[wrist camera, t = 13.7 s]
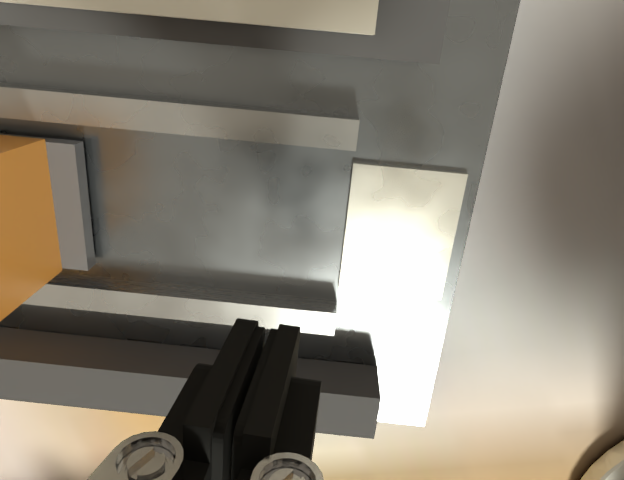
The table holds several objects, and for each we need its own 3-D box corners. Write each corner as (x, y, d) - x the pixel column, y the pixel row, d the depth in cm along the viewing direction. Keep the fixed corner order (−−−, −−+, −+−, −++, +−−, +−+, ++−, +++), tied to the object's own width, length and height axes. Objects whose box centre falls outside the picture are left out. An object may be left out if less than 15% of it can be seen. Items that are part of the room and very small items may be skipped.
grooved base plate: (439, -8, 15) (464, -21, 12) (371, 403, 21) (376, 464, 18) (-166, -61, 15) (-292, -87, 12) (-57, 358, 21) (-122, 410, 18)
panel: (507, -29, 16) (541, -43, 13) (417, 395, 23) (428, 444, 20) (-187, -89, 17) (-293, -115, 14) (-70, 344, 24) (-125, 385, 21)
